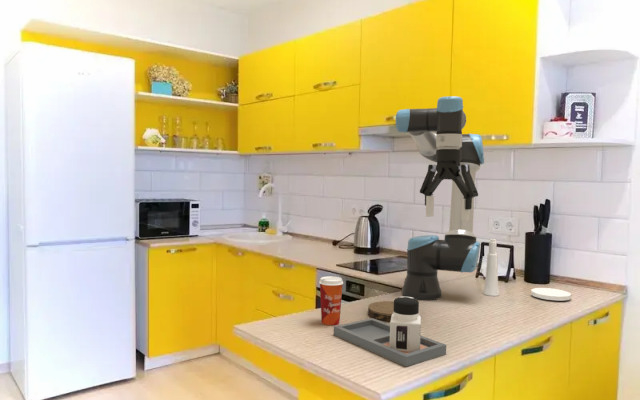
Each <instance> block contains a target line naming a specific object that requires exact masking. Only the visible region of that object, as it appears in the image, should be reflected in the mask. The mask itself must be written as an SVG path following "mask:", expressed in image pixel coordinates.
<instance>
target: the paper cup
mask: <svg viewBox="0 0 640 400" xmlns="http://www.w3.org/2000/svg"><path fill="white" fill-rule="evenodd" d="M318 283H319V293H320V294H319V295H320V297H319V298H320V316H321V324H323V325H324V326H338V325H340V320H341V307H342V295H343V284H344V281H343V279H342V277H339V276H332V275H331V276H330V275H329V276H322V277H320V279H319V281H318Z"/></svg>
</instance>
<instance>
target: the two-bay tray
mask: <svg viewBox="0 0 640 400" xmlns="http://www.w3.org/2000/svg"><path fill="white" fill-rule="evenodd" d="M333 336H336V337H337V338H340V339H342V340H344V341H346V342H348V343H351V344H354V345H356V346H357V347H360V348H362V349H364V350H367V351H369V352H371V353H373V354H375V355H378V356H380V357H383V358H385V359H387V360H390V361H391V362H394V363H396V364H398V365H401V366H402V367H405V368H408V367H411V366H413V365H417V364H420V363H422V362H426V361H430V360H432V359H437V358H440V357H442V356H445V355H447V344H446V343H442V342H440V341H437V340H434V339H431V338H429V337H427V336H423V335H421V334H420V350H417V351H414V352H403V351H398V350H396V349H393V348H391V347H390V323H388V322H384V321H379V320H376V319H374V318H371V317H370V318H365V319H362V320H357V321H352V322H348V323H342V324H337V325H333Z"/></svg>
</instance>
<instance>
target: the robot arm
mask: <svg viewBox="0 0 640 400" xmlns="http://www.w3.org/2000/svg"><path fill="white" fill-rule="evenodd" d="M463 102H464V101H463V98H462V97H461V96H457V95H455V96H453V95H452V96H441V97H439V98H438V99H437V104H436V107H434V108H405V109H399V110H397V112H396V115H395V128H396V131H397V132H399V133H405V134H406V133H408V134H409V135H410V137H411V138H412V140H413V141H414V143H415V144H416V150H417V151H418V152H419V154H420V155H421V156H422V157H423V158H425V159H427V160H429V161H431V162H434V163H436V164H428V167H427V172H426V175H425V177H424V180H423V182H422V184H421V187H420V189H419V193H420V194H422V195H424V206H425V217H426V218H427V217H434V212H435V211H434V207H435V206H434V205H435V199H434V198H435V196H434V192H435V191H436V190H437V188H438V187H439V185H440V184H441V182H442V181H443V180H451V181H452V182H451V196H450V197H451V199H450V212H449V213H450V214H449V228H448V229H449V230H448V231H447V233H445V234H444V239H440V237H439V236H438V235H437V234H436V235H433V234H431V235H430V234H426V235H418V236H413V237H410V238H408V241H407V249H406V251H407V256H406V257H407V261H406V264H407V265H406V277H405V279H404V281H403V286H402V287H401V295H402V297H412V298H415V299H417V300H421V301H422V300H423V301H430V300H437V299H441V298H442V294H443V291H442V289H441V285H440V281H439V278H438V271H445V272H447V271H448V272H458V273H474V272H475V270H476V268H477V265H478V262H479V256H480V250H481V243H480V241H477V236H476V235H475V234H474V232H473V230H474V213H475V212H474V209H475V197H478V196H479V192H478V190H477V188H476V187H477V186H476V173H477V172H478V171H479V170H480V168H481V165H483V164H485V155H484V145H483V137H482V135H480V134H476V133H475V134H474V133H463V129H464V127H465V126H466V123H467V115H466V113H465V112H464V103H463Z"/></svg>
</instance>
